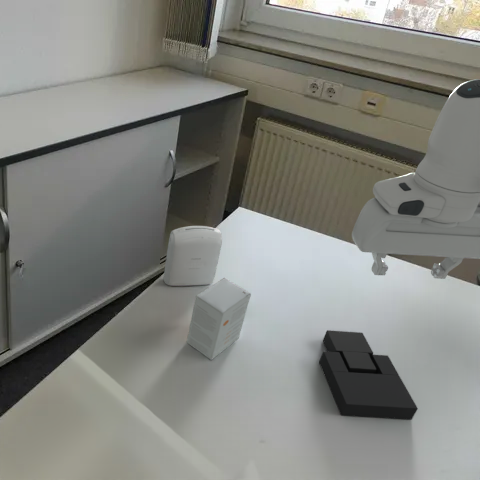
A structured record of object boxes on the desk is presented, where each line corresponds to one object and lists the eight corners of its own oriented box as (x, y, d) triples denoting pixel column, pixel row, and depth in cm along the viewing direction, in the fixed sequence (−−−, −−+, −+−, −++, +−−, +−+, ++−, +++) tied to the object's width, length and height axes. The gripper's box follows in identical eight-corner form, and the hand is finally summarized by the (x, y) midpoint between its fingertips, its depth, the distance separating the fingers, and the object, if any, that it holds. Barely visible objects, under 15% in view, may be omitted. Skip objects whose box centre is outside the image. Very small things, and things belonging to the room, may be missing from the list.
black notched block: (318, 362, 91) (323, 351, 90) (382, 366, 92) (387, 355, 90) (341, 415, 82) (346, 404, 80) (411, 419, 82) (418, 408, 81)
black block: (322, 340, 96) (326, 330, 94) (357, 343, 96) (362, 332, 94) (339, 378, 88) (344, 367, 87) (377, 381, 89) (382, 370, 87)
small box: (213, 322, 97) (224, 276, 91) (239, 339, 94) (252, 292, 88) (185, 342, 92) (195, 294, 86) (211, 361, 89) (223, 312, 83)
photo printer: (165, 288, 104) (174, 234, 98) (160, 274, 108) (168, 221, 101) (215, 286, 106) (228, 233, 100) (209, 273, 110) (221, 221, 103)
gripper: (501, 190, 79) (462, 266, 87) (364, 181, 79) (336, 259, 86) (528, 212, 74) (484, 291, 82) (381, 203, 73) (350, 283, 81)
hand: (407, 274), depth 84 cm, fingers open, 8 cm apart
